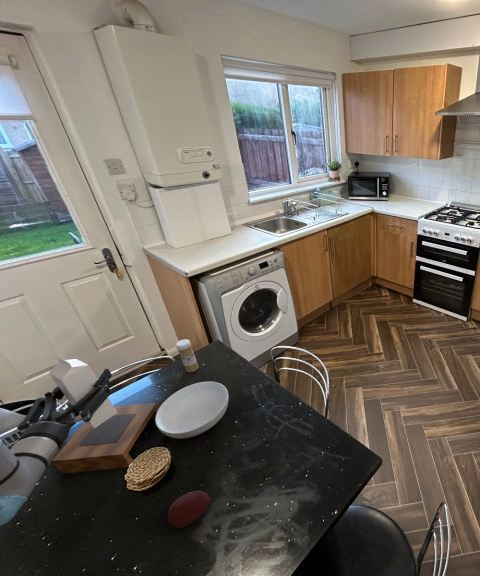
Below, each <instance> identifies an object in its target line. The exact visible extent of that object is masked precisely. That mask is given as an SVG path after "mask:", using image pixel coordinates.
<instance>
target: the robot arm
mask: <svg viewBox="0 0 480 576" xmlns="http://www.w3.org/2000/svg"><path fill="white" fill-rule="evenodd" d="M112 376H113V375H112V372H111V371H110V369H109V368H104V370H103V371H102V373H101V374H100V376H99V377H98V378H97V382H96V383H95V384H94V387H95V388H94V389H93V390H92V391H90V392H89V393H88V394H86V395H85V396H84V397H83V398H81V399H80V400H79V401H78V402H76V403H75V404H74V405H71V404H70V405H68V407H66V408H65V409H62V410H57V404H58V403H57V402H58V401H59V400H60V401H61V400H63V398H64V397H65V395H64V394H63V392H62V391H61V390H60V388H59V387H58V386H56V387H54V388H53V390H52V391H47V392H45V393H44V397H41V396H40V397H37V398H36V399H35V401H34V402H33V404H32V405H31V408H29V410H28V412H27V414H26V416H25V418H24V419H23V420H22V422H20V423H19V424H18V425H17V426H16V429H17V430H18V431H19V432H20V434H21V436H20V437H19V438H18V440H17V441H16V442H15V443H14V444H13V445H12V447H11V448H8V446H7V445H6V444H5V443H4V442H3V440H2V438H1V437H0V526H3V525H5V524H7V523H8V522H10V521H11V520H12V519H13V518H14V517H15V516H16V514H17V513H18V512H19V510H20V509H21V508H22V507H23V506H24V504H25V503H26V502H27V501H28V498H29V496H30V495H31V493H32V492H33V490H34V488H35V487H36V485H37V484H38V482H39V481H40V479H41V478H42V476H43V474H44V473H45V472H46V470H47V468H48V467H49V466H50V464H51V463H52V460H53V459H54V458H55V457H56V455H57V454H58V453H59V450H61V449H62V447H63V445H64V443H65V441H66V440H67V438H68V437H69V434H70V430H71V429H72V428H73V426H75V425H76V424H77V423H80V422H83V420H84V421H85V422H89V421H90V420H91V418H92V416H93V414H94V413H95V412H96V410H97V409H98V408H99V407H100V406H101V405H102V403H103V402H104V401H105V400H106V399H107V398H109V397H110V395H111V394H112V390H111V389H110V387H109V384H110V383H111V381H110V379H111V378H112ZM57 400H58V401H57ZM40 418H41V419H40Z"/></svg>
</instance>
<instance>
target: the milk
mask: <svg viewBox="0 0 480 576" xmlns="http://www.w3.org/2000/svg"><path fill="white" fill-rule="evenodd" d="M56 358H57V360H58V362H57V363H56V364H55V365H54V366H53V367H52V369H51V370H50V371H49V372H48V374H49V375H50V377H51V378H52V379H53V380H54V382H55V384H56V385H57V387H59V388H60V390H61V391H62V392H63V394H64V397H65V398H66V399H67V401H68V403H69V404H70V405H74V404H75V403H76V402H78V401H79V400H80V399H81V398H83V397H84V396H85V395H86V394H88V393H89V392H90V391H92V390H93V389H94V388H95V387H94V384H95V383H96V382H97V380H98V378H97V377H96V375H95V373H94V371H93V370H92V368H91V367H90V365H89V364H88V363H85V362H84V361H81V360H80V359H78V358H70V359H63V358H61V357H59V356H56ZM114 406H115V405H113V403H112V401H111V400H110V398H109V397H108V398H107V399H106V400H105V401H104V402H103V403H102V405H101V406H100V407H99V408H98V409H97V410H96V412H95V413H94V414H93V416H92V418H91V420H90V421H89V422H85V421H84V420H83V421H82V422H83V423H84V422H85V423H86V424H88V425H90V426H91V427H93V428H96V427H97V426H99V425H100V424H102V423H103V422H105V421H106V420H108V419H109V418H110V417H112V416H113V415H115V414H116V413H117V411H116V410H115V408H114Z"/></svg>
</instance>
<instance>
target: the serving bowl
mask: <svg viewBox="0 0 480 576" xmlns="http://www.w3.org/2000/svg"><path fill="white" fill-rule="evenodd" d="M229 399H230V397H229V391H228V389H227V387H226V386H225V385H223V384H222V383H220V382H217V381H200V382H196V383H193V384H190V385H187V386H185V387H183V388H181V389H179V390H177V391H176V392H174V393H173V394H171V395H170V396H168V398H166V399H165V400H164V402H162V404H161V405H160V406H159V407H158V408H159V409H158V411H157V414H156V418H155V419H154V422H155V425H156V427H157V428H158V430H159V431H160V432H161V434H164V435H165V436H167V437H169V438H172V439H189V438H193V437H196V436H199V435H201V434H203V433H205V432H206V431H207V432H208V431H209V430H210V429H212V428H213V427H214V426H215V425H217V423H219V422H220V421H221V419H222V418H223V417H224V415H225V413H226V411H227V409H228V406H229V402H230V401H229Z"/></svg>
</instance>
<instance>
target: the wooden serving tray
mask: <svg viewBox="0 0 480 576" xmlns="http://www.w3.org/2000/svg"><path fill="white" fill-rule="evenodd" d="M113 406H114V408H115V410H116V411H117V413H116V414H115V415H113V416H112V417H110V418H109V419H108V420H106V421H105V422H103V423H102V424H100V425H99V426H97V427H96V428H93V427H91V426H90V425H88V424H86V423H85V422H83V423H82V425H80V427H79V428H78V429H77V430H76V432H75V433H74V434H73V435H72V437H71V438H70V439H69V440H68V441H66V444H65V445H64V446H62V447H61V449H60V451H58V452H57V453H56V455H55V456H54V458H53V459H52V461H51V463H53V464H54V465H55V467H56V468H57V469H58V470H59V472H60V473H61V474H63V475H64V474H75V473H83V472H93V471H104V470H112V469H113V470H114V469H122V468H123V469H125V468H129V467H128V466H129V465H130V464H131V463H132V462H133V461H134V459H133V458H132V456H131V455H130V453H129V452H130V451H131V449H132V447H133V446H134V445H135V442H136V441H138V438H139V437H140V435H141V434H142V432H143V431H144V429H145V428H146V426H147V424H148V423H149V421H150V420H155V418H156V414H157V411H158V409H159V408H160V407H159V405H158V404H157V402H147V403H135V404H124V405H113ZM133 463H134V462H133ZM103 469H104V470H103Z"/></svg>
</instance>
